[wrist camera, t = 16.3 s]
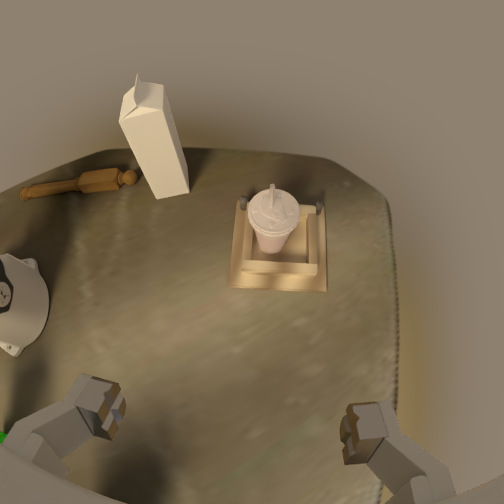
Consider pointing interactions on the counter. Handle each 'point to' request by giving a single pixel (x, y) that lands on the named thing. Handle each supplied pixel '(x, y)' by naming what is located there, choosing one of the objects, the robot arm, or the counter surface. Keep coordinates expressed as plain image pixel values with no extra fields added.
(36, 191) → the tap handle
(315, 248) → the holder
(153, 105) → the milk
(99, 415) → the robot arm
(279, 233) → the smoothie
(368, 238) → the counter surface
